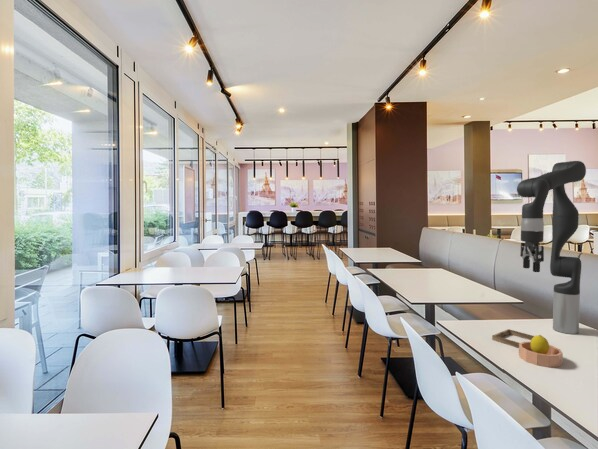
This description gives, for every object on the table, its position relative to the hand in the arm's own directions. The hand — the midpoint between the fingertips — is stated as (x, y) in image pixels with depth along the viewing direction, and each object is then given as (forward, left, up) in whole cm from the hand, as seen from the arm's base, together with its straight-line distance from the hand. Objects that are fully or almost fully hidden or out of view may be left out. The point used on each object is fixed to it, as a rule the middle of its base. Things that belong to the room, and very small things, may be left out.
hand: (531, 270), depth 137 cm
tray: (+1, -4, -30) cm, 30 cm away
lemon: (+12, +8, -30) cm, 33 cm away
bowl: (+12, +8, -30) cm, 34 cm away
